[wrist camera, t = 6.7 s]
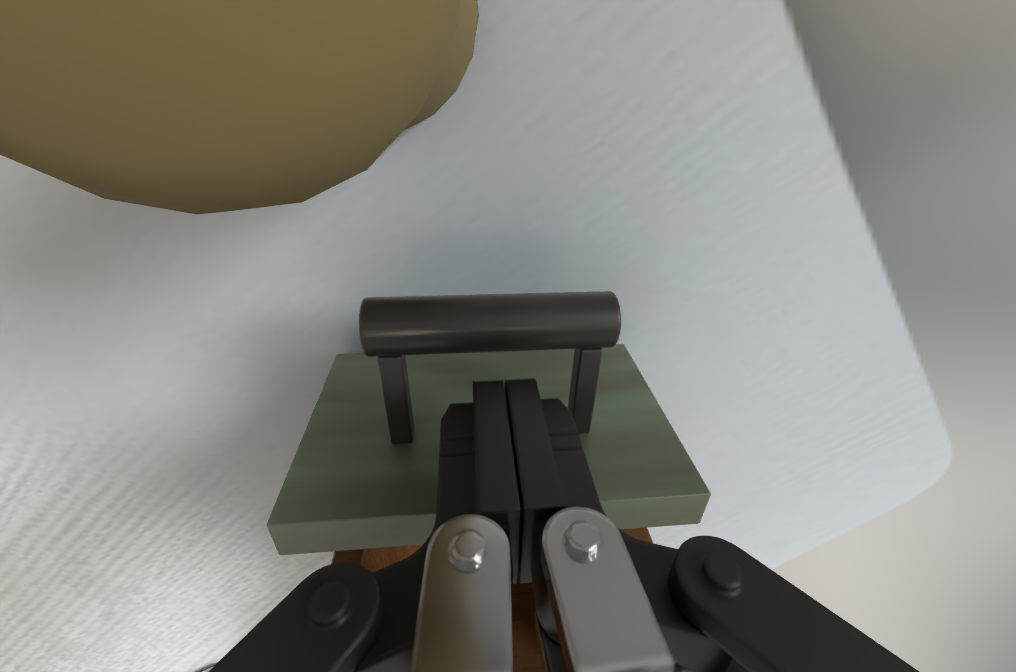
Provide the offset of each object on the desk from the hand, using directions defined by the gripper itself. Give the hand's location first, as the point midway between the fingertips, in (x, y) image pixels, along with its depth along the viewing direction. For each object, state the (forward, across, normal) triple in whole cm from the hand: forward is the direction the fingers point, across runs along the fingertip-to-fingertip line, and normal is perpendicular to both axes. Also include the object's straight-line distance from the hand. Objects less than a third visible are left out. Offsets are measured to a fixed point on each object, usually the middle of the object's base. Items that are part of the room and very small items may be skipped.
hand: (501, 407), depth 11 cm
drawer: (+5, 0, +6) cm, 8 cm away
